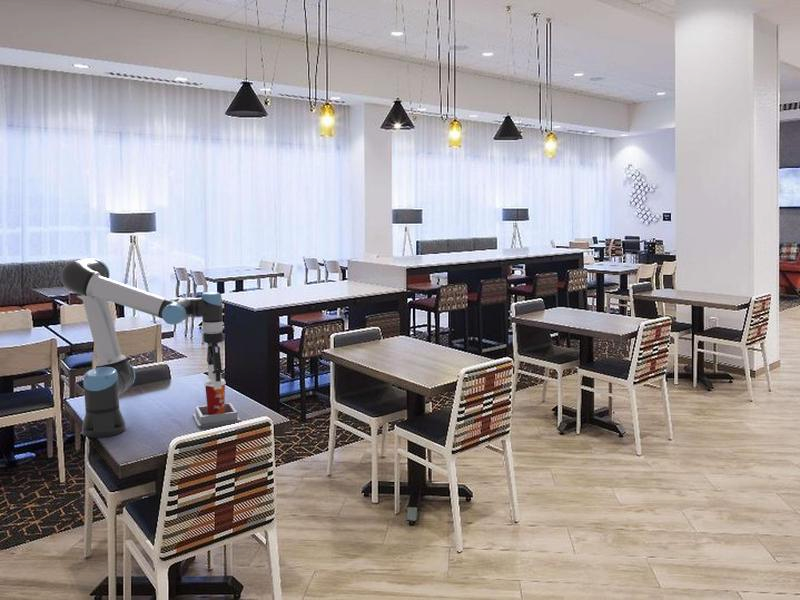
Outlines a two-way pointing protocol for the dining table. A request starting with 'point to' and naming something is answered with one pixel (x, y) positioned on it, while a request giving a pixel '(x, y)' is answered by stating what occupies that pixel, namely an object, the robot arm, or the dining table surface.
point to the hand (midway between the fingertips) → (214, 384)
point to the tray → (215, 416)
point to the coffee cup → (215, 397)
